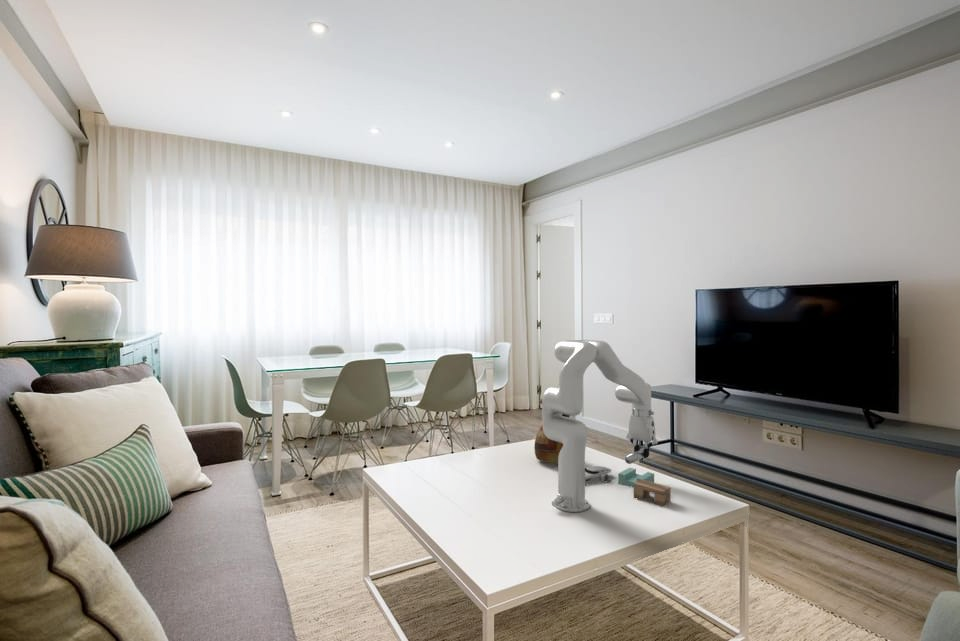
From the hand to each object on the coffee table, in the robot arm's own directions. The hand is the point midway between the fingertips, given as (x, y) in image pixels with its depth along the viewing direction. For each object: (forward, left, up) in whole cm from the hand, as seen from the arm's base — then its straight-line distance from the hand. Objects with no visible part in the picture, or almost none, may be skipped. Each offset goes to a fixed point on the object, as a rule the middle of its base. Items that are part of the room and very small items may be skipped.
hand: (641, 455), depth 197 cm
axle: (-4, 0, -1) cm, 4 cm away
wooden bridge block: (-17, -12, -10) cm, 23 cm away
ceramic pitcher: (-5, +40, -10) cm, 42 cm away
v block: (-5, 0, -10) cm, 11 cm away
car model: (-15, +17, -11) cm, 25 cm away
